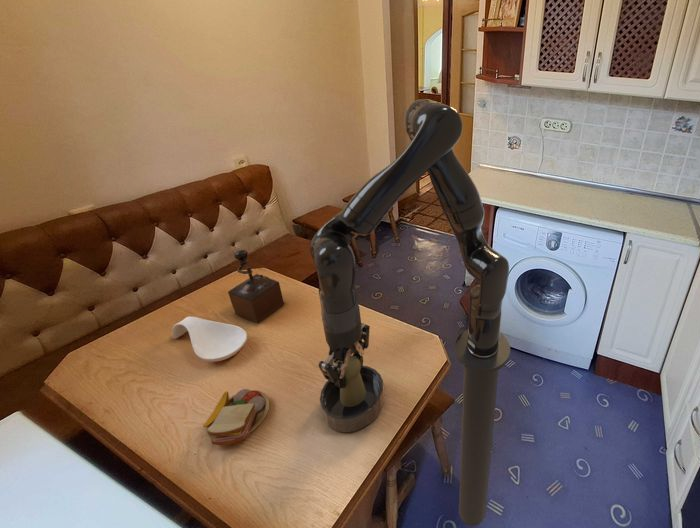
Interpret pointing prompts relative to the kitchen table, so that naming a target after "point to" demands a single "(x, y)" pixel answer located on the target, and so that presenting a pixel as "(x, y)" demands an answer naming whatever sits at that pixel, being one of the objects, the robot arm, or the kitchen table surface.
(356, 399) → the cork
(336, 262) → the robot arm
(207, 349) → the spoon rest
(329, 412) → the dark grey bowl
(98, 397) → the kitchen table surface
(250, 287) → the dark brown coffee grinder
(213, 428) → the toy sandwich meal
